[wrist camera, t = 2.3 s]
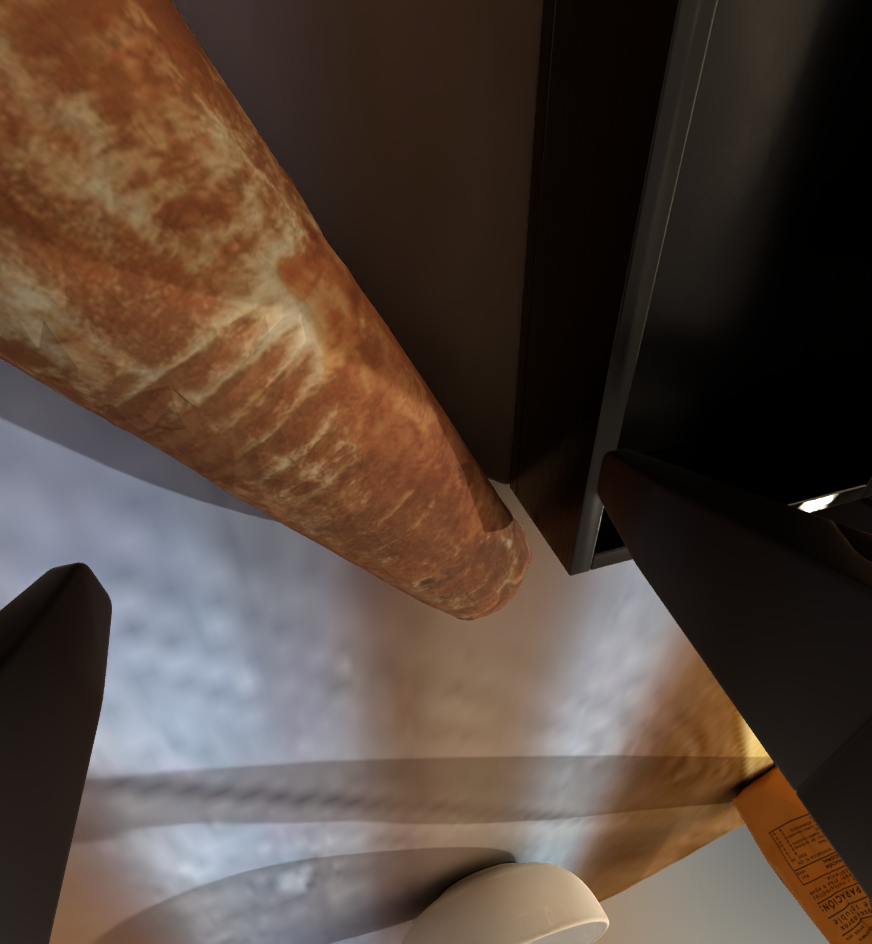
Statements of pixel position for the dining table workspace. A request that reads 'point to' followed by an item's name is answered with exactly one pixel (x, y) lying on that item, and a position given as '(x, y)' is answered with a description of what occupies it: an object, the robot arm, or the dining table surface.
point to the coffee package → (805, 859)
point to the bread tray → (696, 256)
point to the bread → (220, 304)
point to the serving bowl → (512, 909)
